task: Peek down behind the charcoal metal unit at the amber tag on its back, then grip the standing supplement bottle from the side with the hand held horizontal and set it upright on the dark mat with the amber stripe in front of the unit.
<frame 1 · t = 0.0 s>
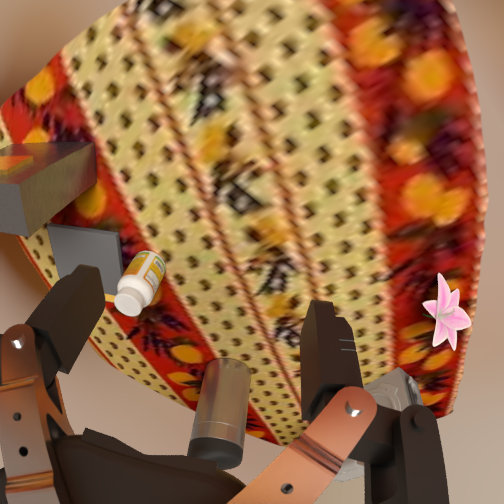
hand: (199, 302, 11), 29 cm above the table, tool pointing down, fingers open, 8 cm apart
lily: (437, 296, 47), on the table
portable television: (369, 396, 63), on the table
supplement bottle: (150, 263, 47), on the table
metal unit: (49, 161, 39), on the table
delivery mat: (88, 263, 48), on the table
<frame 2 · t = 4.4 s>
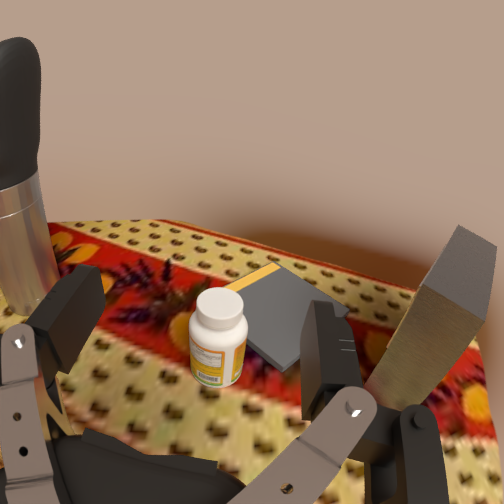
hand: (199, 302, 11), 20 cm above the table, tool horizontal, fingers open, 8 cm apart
supplement bottle: (216, 369, 32), on the table
metal unit: (407, 365, 34), on the table
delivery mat: (276, 310, 40), on the table
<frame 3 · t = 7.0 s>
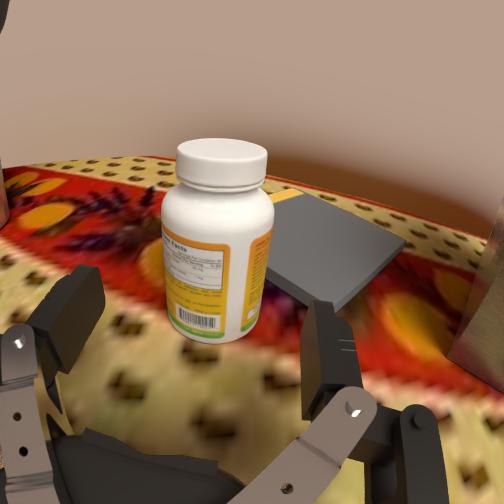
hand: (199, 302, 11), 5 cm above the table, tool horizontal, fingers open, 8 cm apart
supplement bottle: (212, 314, 19), on the table
metal unit: (494, 312, 20), on the table
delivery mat: (305, 238, 27), on the table
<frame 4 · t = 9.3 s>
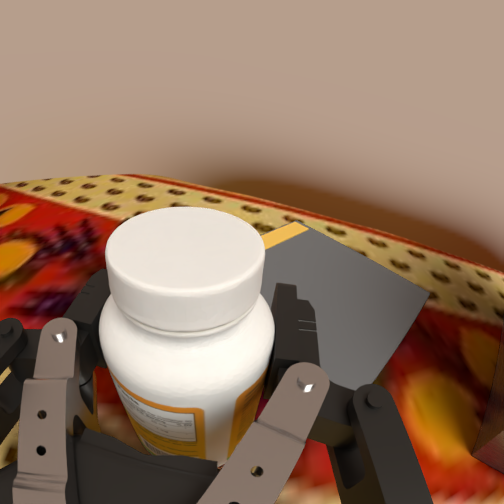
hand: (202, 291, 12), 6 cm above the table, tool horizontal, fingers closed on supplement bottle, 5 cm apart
supplement bottle: (192, 423, 13), on the table, touching gripper
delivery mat: (311, 297, 22), on the table
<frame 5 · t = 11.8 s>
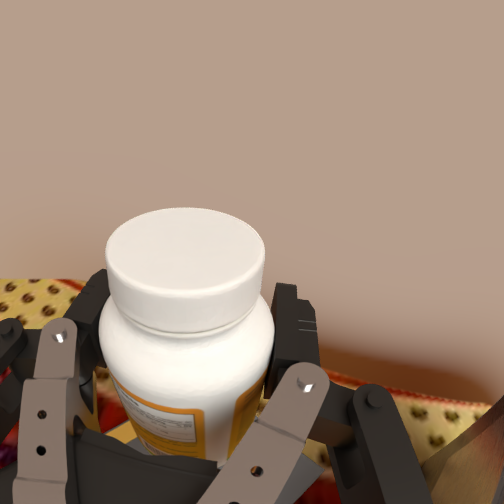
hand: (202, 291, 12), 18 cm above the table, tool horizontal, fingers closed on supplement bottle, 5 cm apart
supplement bottle: (192, 424, 13), point 11 cm above the table, touching gripper
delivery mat: (198, 473, 20), on the table
when the fingers open (8 cm above the table, at t = 14.6 s): supplement bottle drops 1 cm, resting on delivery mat.
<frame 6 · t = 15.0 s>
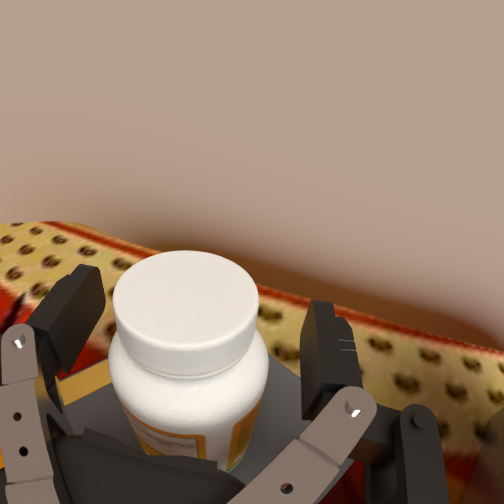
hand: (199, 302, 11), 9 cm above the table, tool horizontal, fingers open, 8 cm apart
supplement bottle: (194, 437, 14), point 1 cm above the table, touching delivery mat
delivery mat: (194, 440, 14), on the table
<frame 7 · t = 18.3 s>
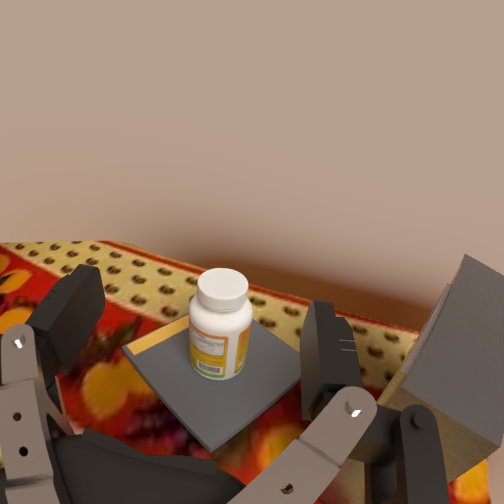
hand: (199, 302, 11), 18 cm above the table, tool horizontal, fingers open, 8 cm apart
supplement bottle: (217, 361, 30), point 1 cm above the table, touching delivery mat
metal unit: (386, 439, 24), on the table
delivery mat: (216, 364, 30), on the table
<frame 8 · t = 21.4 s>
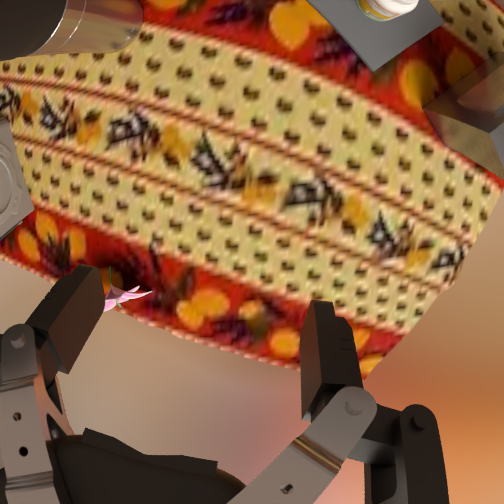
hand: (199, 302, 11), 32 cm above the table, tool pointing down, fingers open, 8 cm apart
lily: (125, 282, 54), on the table
portable television: (1, 162, 42), on the table
supplement bottle: (376, 3, 26), point 1 cm above the table, touching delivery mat
metal unit: (473, 94, 31), on the table
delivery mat: (374, 3, 27), on the table
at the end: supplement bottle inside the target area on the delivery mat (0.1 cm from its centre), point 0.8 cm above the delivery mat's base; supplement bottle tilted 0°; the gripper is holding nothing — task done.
